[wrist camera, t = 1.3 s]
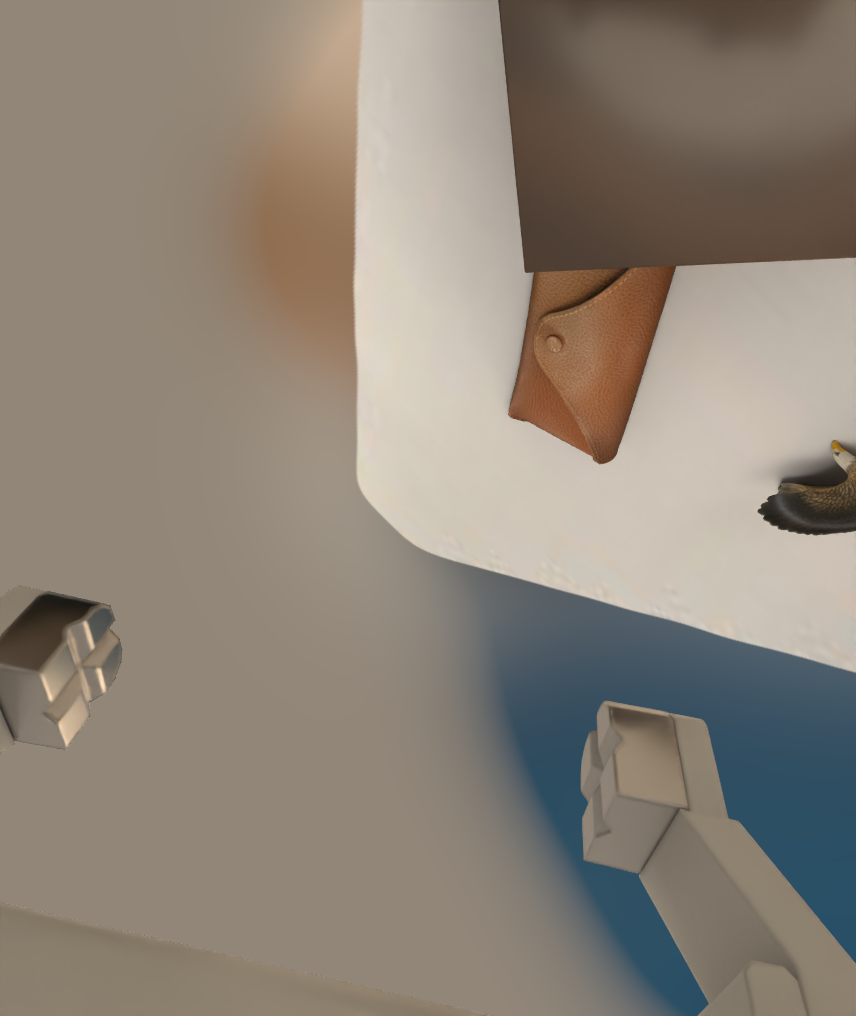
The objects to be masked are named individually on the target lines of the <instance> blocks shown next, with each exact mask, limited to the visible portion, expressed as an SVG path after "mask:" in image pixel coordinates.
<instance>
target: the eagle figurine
mask: <svg viewBox="0 0 856 1016" xmlns="http://www.w3.org/2000/svg"><path fill="white" fill-rule="evenodd" d="M832 450H833V452H832V454H833V457H834V459H835V460H836V462H837V463H838V464H839V465H840V466H841V467H842V468H843V469H844V470H845V472H846V473H847V475H848V478H847V479H846V480H845V481H844V482H842V483H841V484H839V485H837V486H807V485H801V484H794V483H785V482H782V483H781V487H779V488H778V490H779V491H781V492H779V493H778V494H776V495H772V496H769V497H768V499H767V500H768V502H765V503H763V504H762V505H761V507H762V508H761V509H759V510H758V513H760V514H761V515H764V517H763V519H764V520H765V521H767V522H769V523H770V524H771V525H772V526H777V527H778V529H780V530H788V531H789V532H796V533H798V534H806V535H810V534H813V535H827V534H834V533H846V532H853V531H856V457H855V456H853V455H851V454H850V453H848V452H847V451H846V450H844V449H843V448H842V447H841V446H840V445H839V444H838V442H837V441H834V442H833V443H832Z"/></svg>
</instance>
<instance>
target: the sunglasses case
mask: <svg viewBox="0 0 856 1016" xmlns="http://www.w3.org/2000/svg"><path fill="white" fill-rule="evenodd" d="M675 268H676V266H661V267H639V268H618V269H596V270H574V271H552V272H534V276H533V284H532V291H531V297H530V304H529V310H528V318H527V323H526V330H525V336H524V341H523V348H522V354H521V360H520V365H519V369H518V375H517V379H516V383H515V387H514V391H513V395H512V399H511V403H510V407H509V413H508V415H509V416H510V417H511V418H513V419H517V420H521V421H527V422H530V423H532V424H534V425H536V426H537V427H539V428H541V429H542V430H545V431H546V432H548V433H550V434H552V435H553V436H555V437H557V438H559V439H561V440H563V441H565V442H567V443H568V444H570V445H572V446H574V447H576V448H578V449H580V450H581V451H583V452H585V453H587V454H589V455H591V456H593V460H594V461H595V462H597V463H598V464H605V463H607V462H610V461H611V460H612V459H614V457H615V456H616V454H617V451H618V448H619V445H620V442H621V440H622V437H623V434H624V431H625V428H626V425H627V422H628V419H629V416H630V414H631V410H632V407H633V403H634V401H635V397H636V394H637V391H638V387H639V384H640V381H641V378H642V375H643V371H644V368H645V365H646V361H647V359H648V355H649V352H650V349H651V346H652V342H653V339H654V336H655V333H656V330H657V326H658V323H659V320H660V316H661V313H662V310H663V307H664V304H665V301H666V298H667V294H668V291H669V288H670V285H671V281H672V277H673V275H674V271H675Z"/></svg>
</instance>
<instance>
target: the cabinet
mask: <svg viewBox="0 0 856 1016" xmlns="http://www.w3.org/2000/svg"><path fill="white" fill-rule="evenodd" d="M498 2H499V12H500V22H501V33H502V43H503V53H504V63H505V74H506V84H507V94H508V104H509V114H510V125H511V135H512V145H513V155H514V165H515V176H516V186H517V196H518V206H519V216H520V227H521V237H522V247H523V257H524V268H525V272H526V273H531V272H552V271H574V270H596V269H618V268H639V267H661V266H683V265H705V264H726V263H748V262H770V261H792V260H813V259H835V258H855V257H856V0H498Z"/></svg>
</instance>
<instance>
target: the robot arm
mask: <svg viewBox="0 0 856 1016" xmlns="http://www.w3.org/2000/svg"><path fill="white" fill-rule="evenodd" d="M114 621H115V617H114V614H113V611H112V608H111V606H110V605H107V604H104V603H99V602H95V601H90V600H86V599H81V598H77V597H73V596H67V595H64V594H59V593H55V592H50V591H44V590H40V589H35V588H31V587H25V586H21V585H20V586H17V587H15V588H12V589H10V590H8V591H7V592H6V593H5V594H4V595H3V596H2V597H1V598H0V754H1V753H2V752H4V751H5V750H7V749H8V748H10V747H11V746H13V745H14V744H15V742H14V741H19V742H24V743H30V744H35V745H41V746H46V747H52V748H57V749H62V750H66V749H67V748H68V746H69V745H70V744H71V742H72V741H73V739H74V738H75V736H76V735H77V734H78V732H79V731H80V729H81V728H82V727H83V725H84V724H85V722H86V721H87V719H88V718H89V717H90V709H89V702H91V701H93V700H95V699H97V698H98V697H100V696H102V695H104V694H105V693H106V692H107V691H108V689H109V688H110V686H111V685H112V683H113V682H114V680H115V678H116V675H117V673H118V670H119V667H120V664H121V659H122V647H121V642H120V639H119V638H118V636H117V635H116V634H115V633H114V632H113V631H112V630H111V629H110V626H111V625H112V624H113V622H114ZM581 792H582V793H583V795H584V796H585V798H586V799H587V801H588V802H589V804H588V806H587V808H586V811H585V813H584V815H583V817H582V825H583V826H582V828H583V850H584V860H585V861H589V862H593V863H597V864H601V865H605V866H610V867H614V868H618V869H622V870H627V871H630V872H634V873H639V874H640V875H639V878H640V879H641V881H642V883H643V885H644V887H645V888H646V890H647V892H648V894H649V896H650V898H651V899H652V901H653V903H654V905H655V907H656V908H657V910H658V912H659V914H660V915H661V917H662V919H663V921H664V923H665V925H666V926H667V928H668V930H669V932H670V933H671V935H672V937H673V939H674V941H675V943H676V944H677V946H678V948H679V950H680V952H681V953H682V955H683V957H684V958H685V961H686V962H687V964H688V966H689V968H690V970H691V972H692V973H693V975H694V977H695V979H696V981H697V982H698V984H699V986H700V988H701V990H702V991H703V993H704V995H705V997H706V999H707V1000H708V1002H709V1005H708V1006H707V1007H706V1008H705V1009H704V1010H703V1011H702V1012H701V1013H700V1014H699V1015H698V1016H856V964H855V962H854V961H853V960H852V959H851V958H850V956H849V955H848V954H847V953H846V952H845V950H844V949H843V948H842V947H841V946H840V944H839V943H838V942H837V941H836V939H835V938H834V937H833V936H832V934H831V933H830V932H829V931H828V930H827V928H826V927H825V926H824V925H823V924H822V922H821V921H820V920H819V919H818V917H817V916H816V915H815V914H814V913H813V911H812V910H811V909H810V908H809V907H808V905H807V904H806V903H805V902H804V900H803V899H802V898H801V897H800V895H799V894H798V893H797V892H796V891H795V890H794V888H793V887H792V886H791V885H790V884H789V882H788V881H787V880H786V878H785V877H784V876H783V875H782V874H781V872H780V871H779V870H778V869H777V868H776V866H775V865H774V864H773V863H772V862H771V860H770V859H769V858H768V857H767V855H766V854H765V853H764V852H763V850H762V849H761V848H760V847H759V846H758V844H757V843H756V842H755V841H754V839H753V838H752V837H751V836H750V835H749V834H748V832H747V831H746V830H745V829H744V827H743V826H742V825H741V824H740V822H739V821H735V820H731V819H728V816H727V811H726V807H725V803H724V798H723V794H722V789H721V785H720V780H719V776H718V772H717V768H716V763H715V759H714V754H713V750H712V746H711V742H710V738H709V733H708V728H707V725H706V724H705V722H704V721H703V720H702V719H697V718H692V717H687V716H682V715H676V714H671V713H667V712H664V711H658V710H653V709H647V708H642V707H636V706H631V705H625V704H620V703H614V702H609V701H604V702H603V704H602V705H601V707H600V709H599V711H598V713H597V729H596V730H594V731H592V732H590V733H589V736H588V738H587V741H586V744H585V747H584V753H583V758H582V765H581ZM0 1016H492V1015H487V1014H482V1013H479V1012H474V1011H470V1010H466V1009H461V1008H457V1007H453V1006H448V1005H444V1004H439V1003H435V1002H431V1001H427V1000H422V999H418V998H413V997H409V996H405V995H401V994H396V993H391V992H388V991H383V990H379V989H375V988H370V987H366V986H361V985H357V984H353V983H348V982H344V981H340V980H336V979H331V978H326V977H323V976H318V975H314V974H309V973H305V972H301V971H297V970H292V969H288V968H284V967H279V966H275V965H271V964H266V963H262V962H258V961H253V960H249V959H244V958H240V957H236V956H232V955H227V954H223V953H219V952H214V951H210V950H205V949H201V948H197V947H193V946H188V945H184V944H180V943H175V942H171V941H167V940H162V939H158V938H154V937H149V936H145V935H141V934H136V933H132V932H128V931H123V930H119V929H115V928H110V927H106V926H101V925H97V924H93V923H89V922H84V921H80V920H76V919H71V918H67V917H62V916H58V915H54V914H50V913H45V912H41V911H36V910H32V909H28V908H23V907H19V906H15V905H11V904H6V903H1V902H0Z"/></svg>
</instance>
